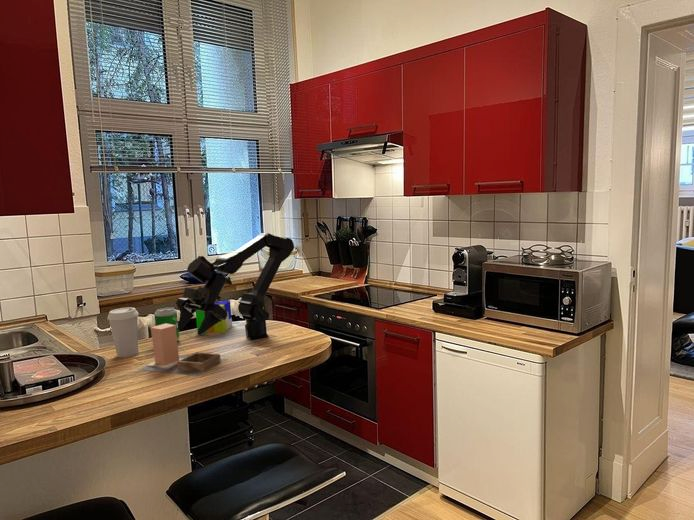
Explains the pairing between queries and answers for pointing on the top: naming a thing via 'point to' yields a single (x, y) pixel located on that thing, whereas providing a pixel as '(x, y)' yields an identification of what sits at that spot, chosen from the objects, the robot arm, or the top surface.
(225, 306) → the puzzle toy
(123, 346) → the coffee cup
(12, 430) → the top surface
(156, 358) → the terracotta block
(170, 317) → the soda can
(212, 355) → the puzzle board
